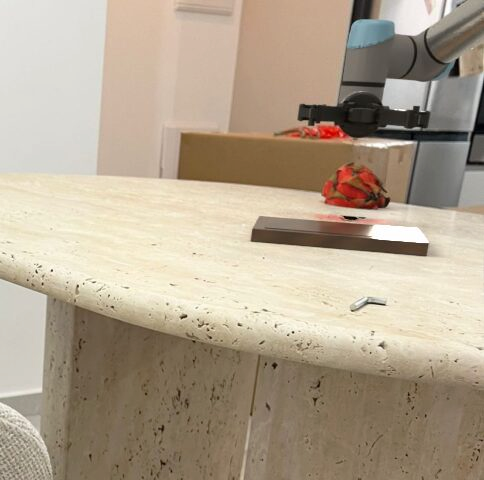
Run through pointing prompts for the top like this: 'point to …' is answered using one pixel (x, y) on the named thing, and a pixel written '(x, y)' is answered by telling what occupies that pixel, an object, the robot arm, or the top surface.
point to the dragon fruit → (355, 189)
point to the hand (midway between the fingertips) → (364, 116)
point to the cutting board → (340, 235)
